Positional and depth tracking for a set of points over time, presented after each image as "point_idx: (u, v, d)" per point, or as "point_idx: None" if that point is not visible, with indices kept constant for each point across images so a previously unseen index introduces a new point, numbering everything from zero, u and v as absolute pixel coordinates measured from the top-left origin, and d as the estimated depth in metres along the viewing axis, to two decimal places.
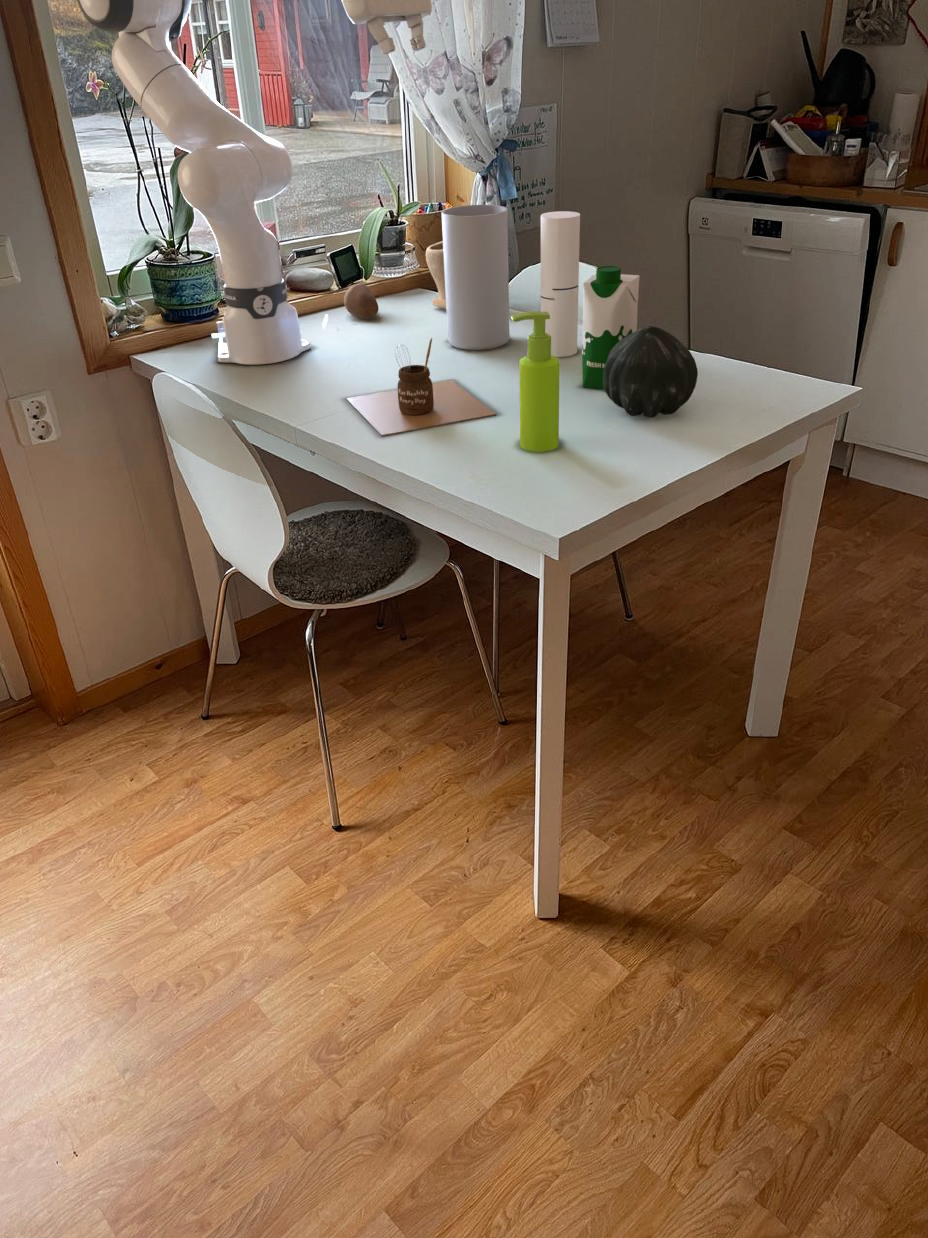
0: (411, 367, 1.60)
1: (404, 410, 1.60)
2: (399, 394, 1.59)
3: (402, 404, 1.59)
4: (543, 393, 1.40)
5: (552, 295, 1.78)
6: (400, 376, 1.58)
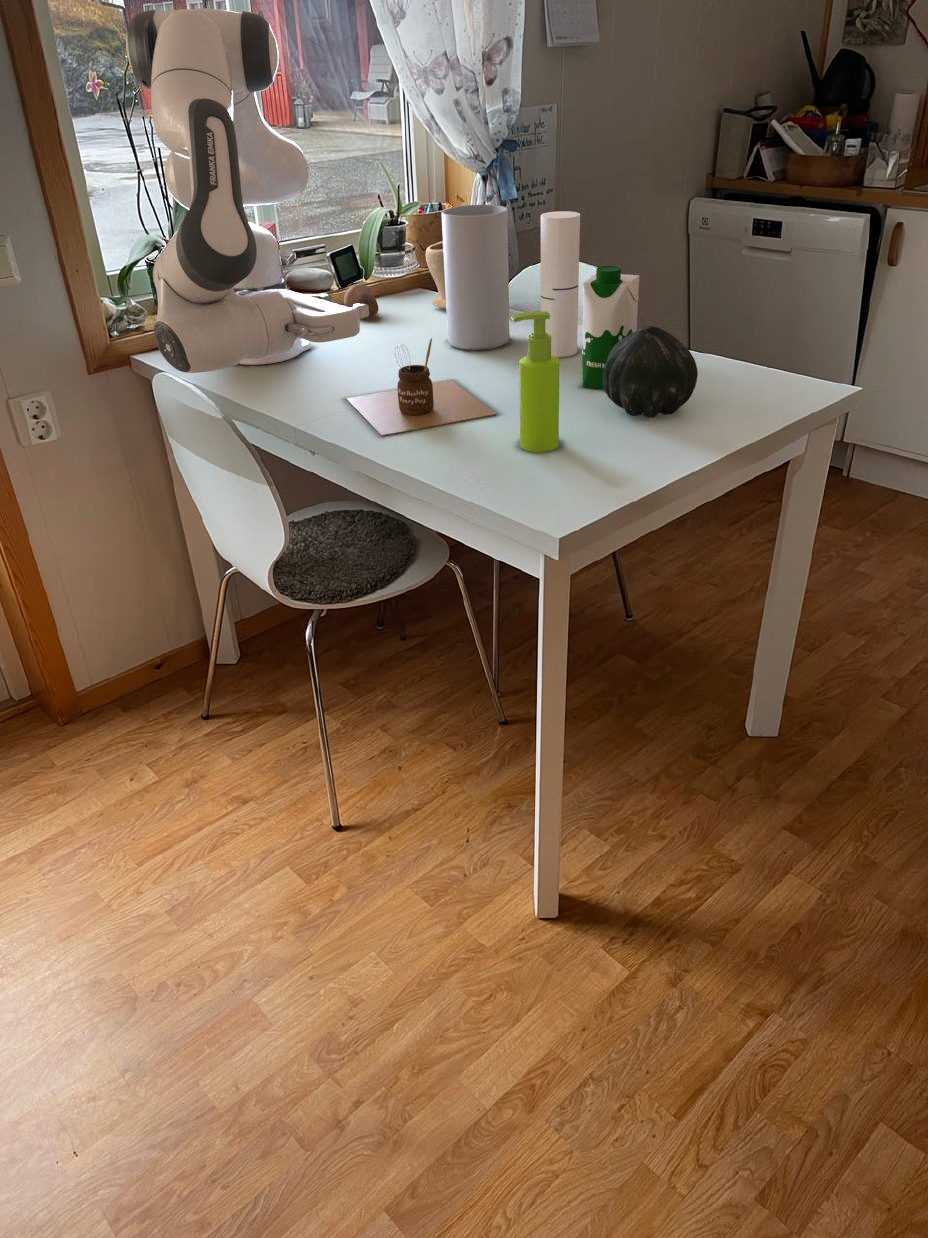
0: (411, 367, 1.60)
1: (404, 410, 1.60)
2: (399, 394, 1.59)
3: (402, 404, 1.59)
4: (543, 393, 1.40)
5: (552, 295, 1.78)
6: (400, 376, 1.58)
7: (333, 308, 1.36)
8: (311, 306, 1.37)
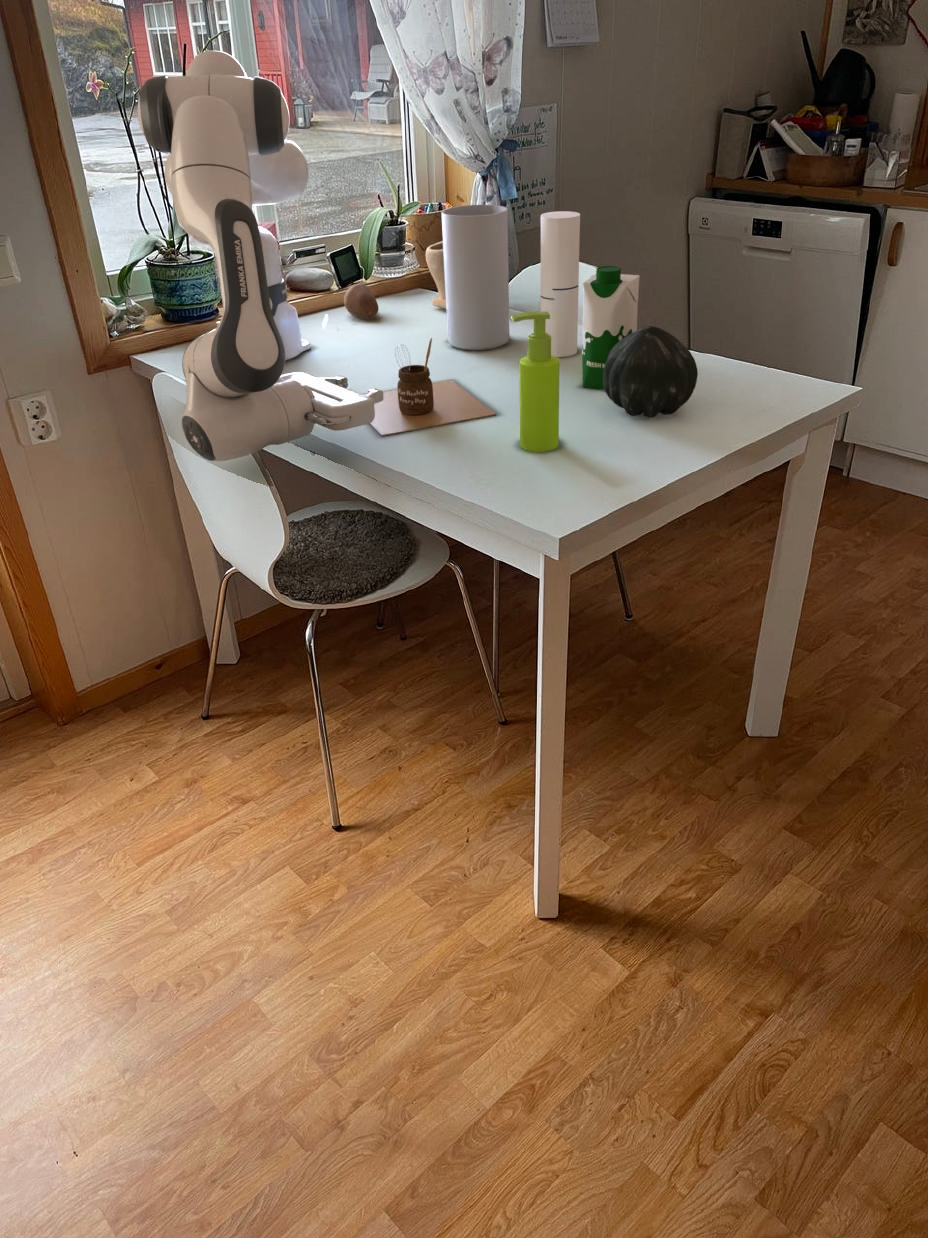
0: (411, 367, 1.60)
1: (404, 410, 1.60)
2: (399, 394, 1.59)
3: (402, 404, 1.59)
4: (543, 393, 1.40)
5: (552, 295, 1.78)
6: (400, 376, 1.58)
7: (350, 397, 1.44)
8: (329, 394, 1.45)
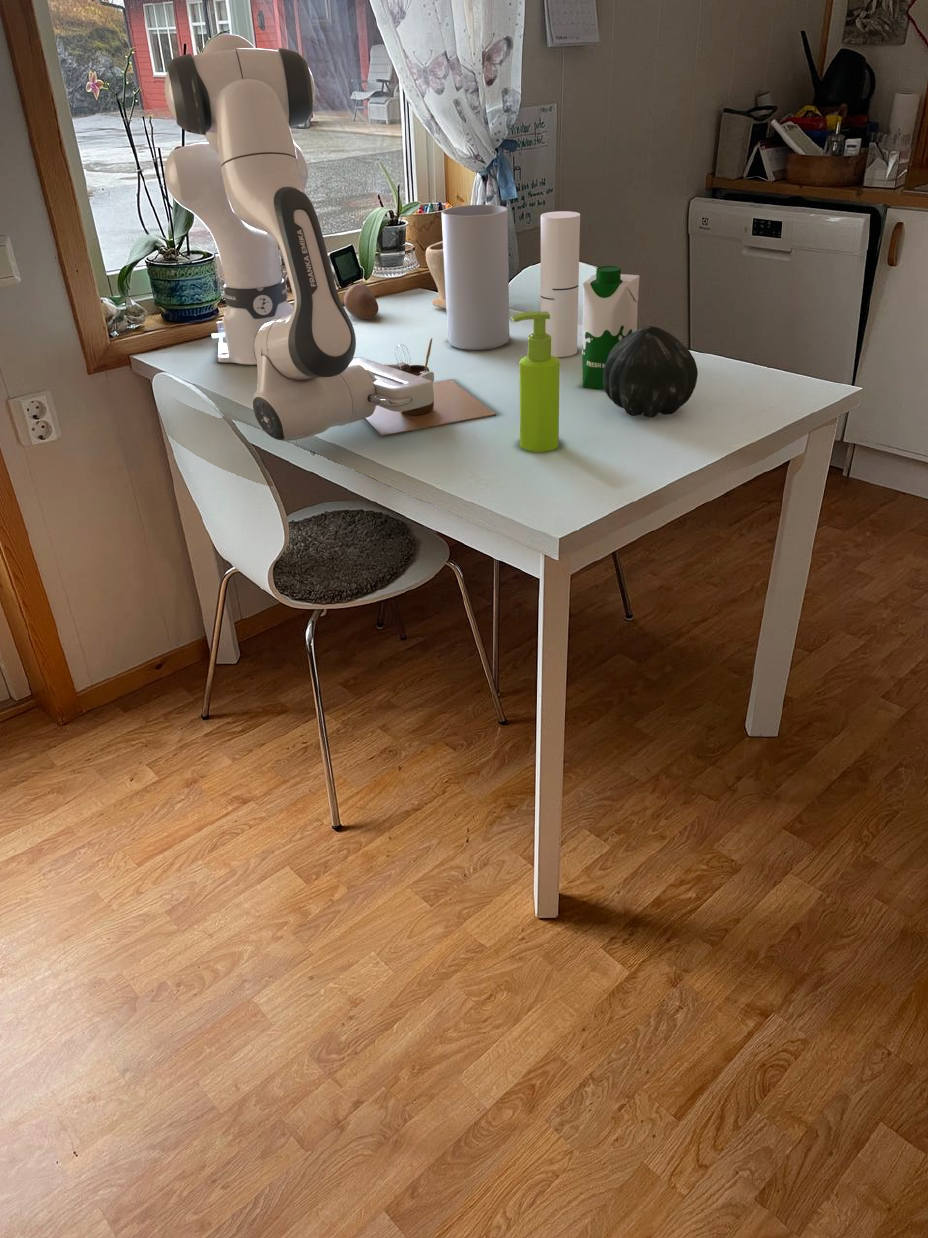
0: (411, 367, 1.60)
1: None
2: None
3: None
4: (543, 393, 1.40)
5: (552, 295, 1.78)
6: None
7: (410, 380, 1.50)
8: (389, 377, 1.52)
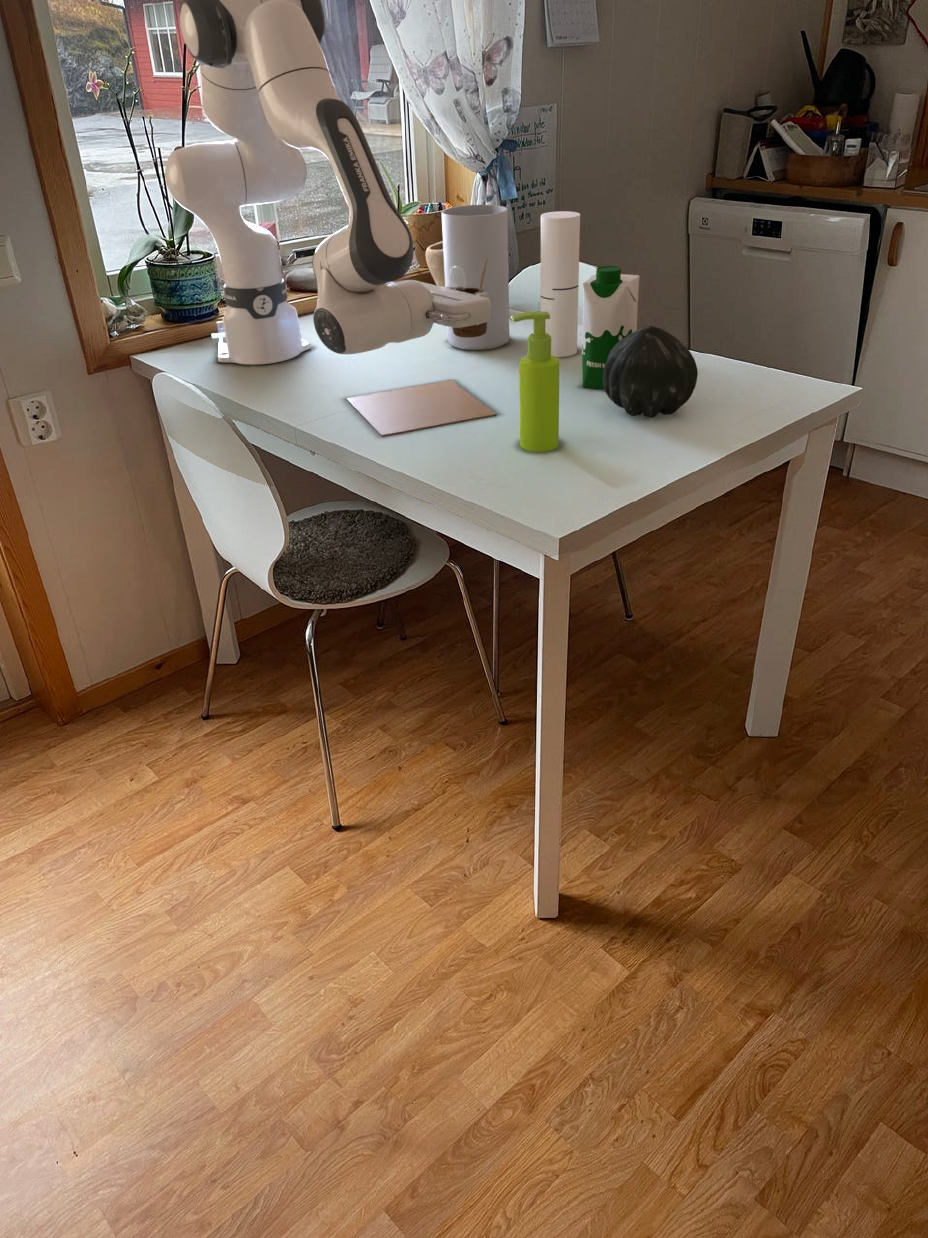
0: (465, 290, 1.62)
1: (458, 332, 1.61)
2: None
3: None
4: (543, 393, 1.40)
5: (552, 295, 1.78)
6: None
7: (467, 297, 1.52)
8: (446, 295, 1.53)
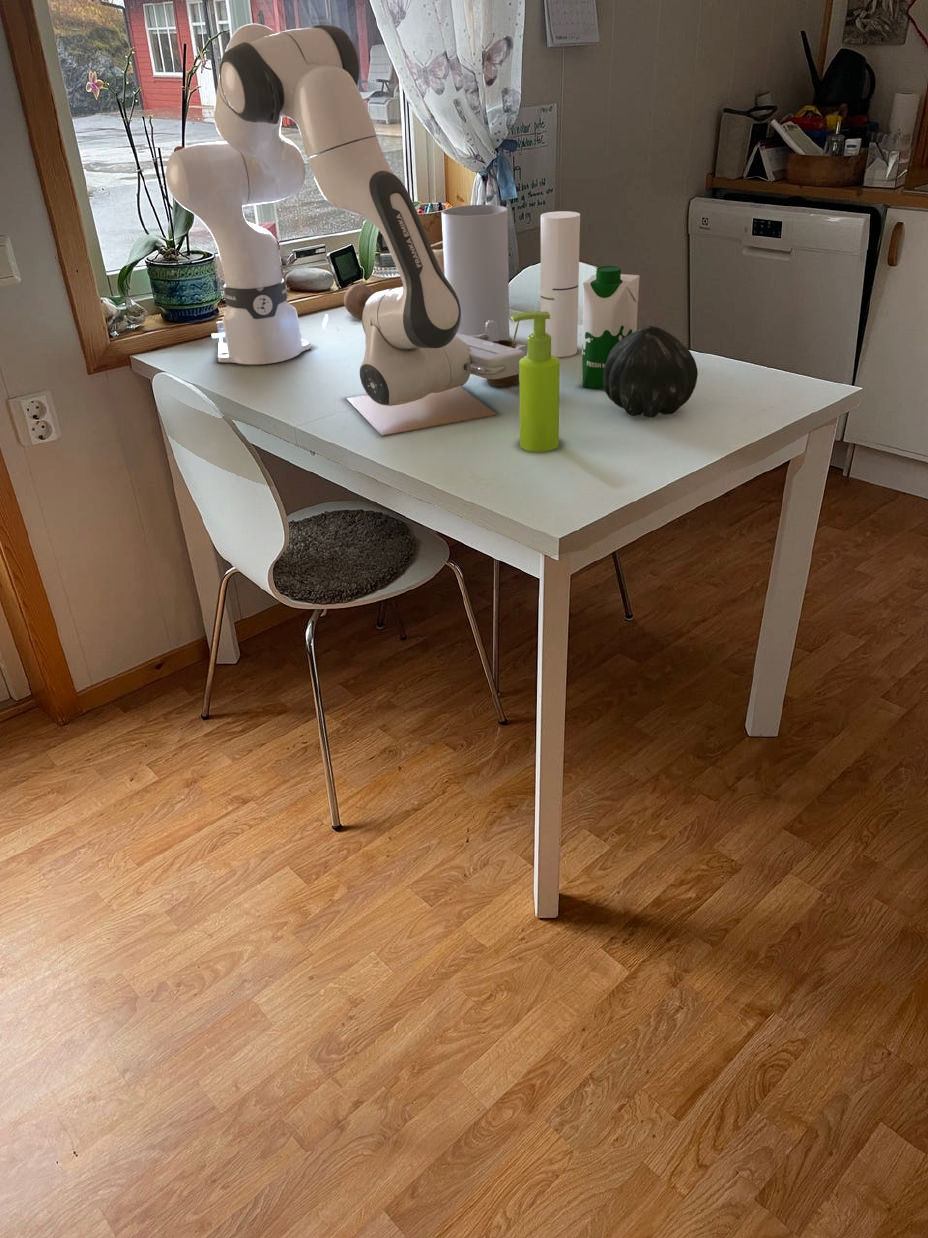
0: (498, 342, 1.71)
1: (492, 382, 1.71)
2: None
3: None
4: (543, 393, 1.40)
5: (552, 295, 1.78)
6: None
7: (502, 350, 1.61)
8: (482, 348, 1.63)
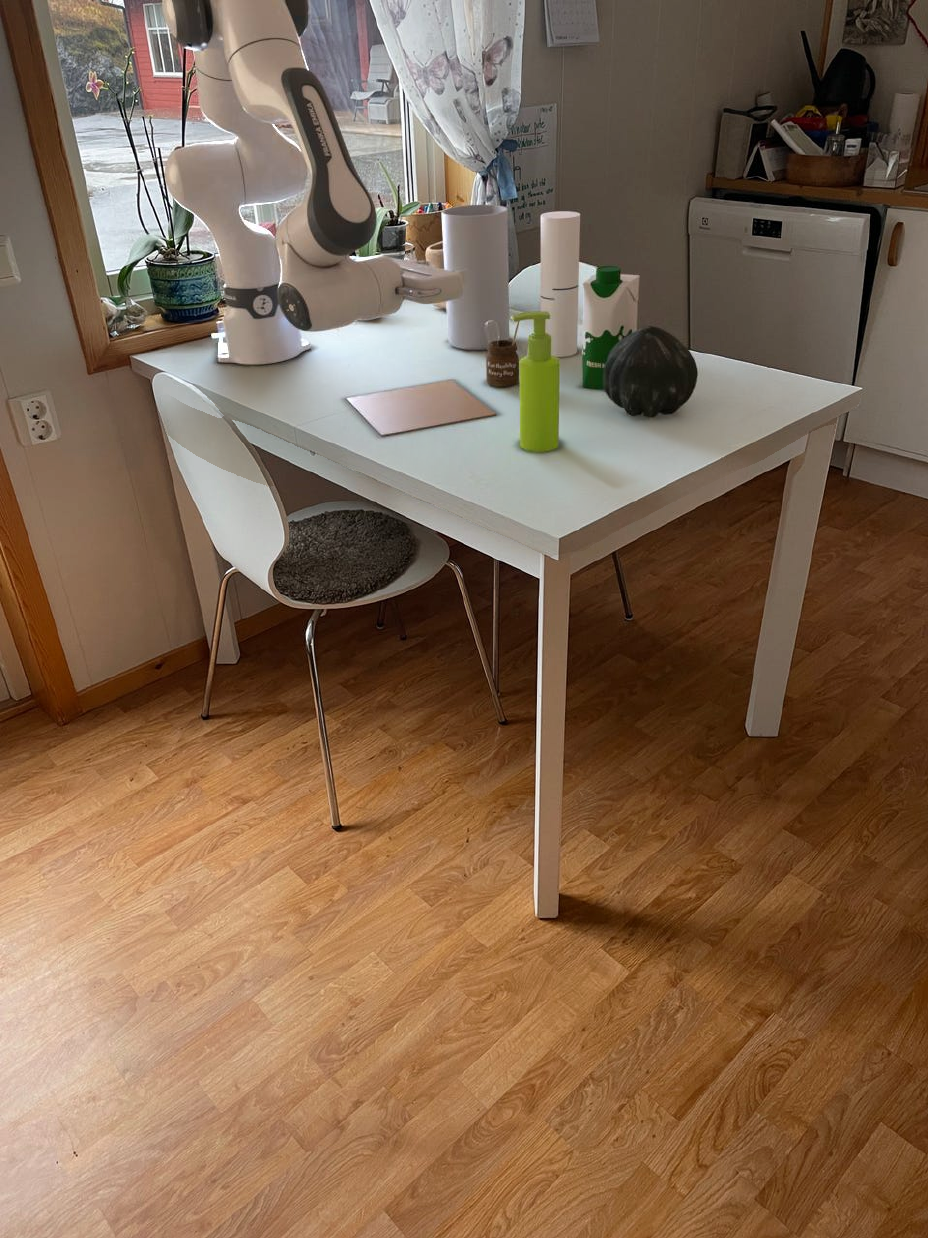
0: (499, 342, 1.71)
1: (492, 382, 1.71)
2: (488, 367, 1.70)
3: (490, 376, 1.70)
4: (543, 393, 1.40)
5: (552, 295, 1.78)
6: (490, 350, 1.68)
7: (439, 272, 1.46)
8: (417, 271, 1.48)
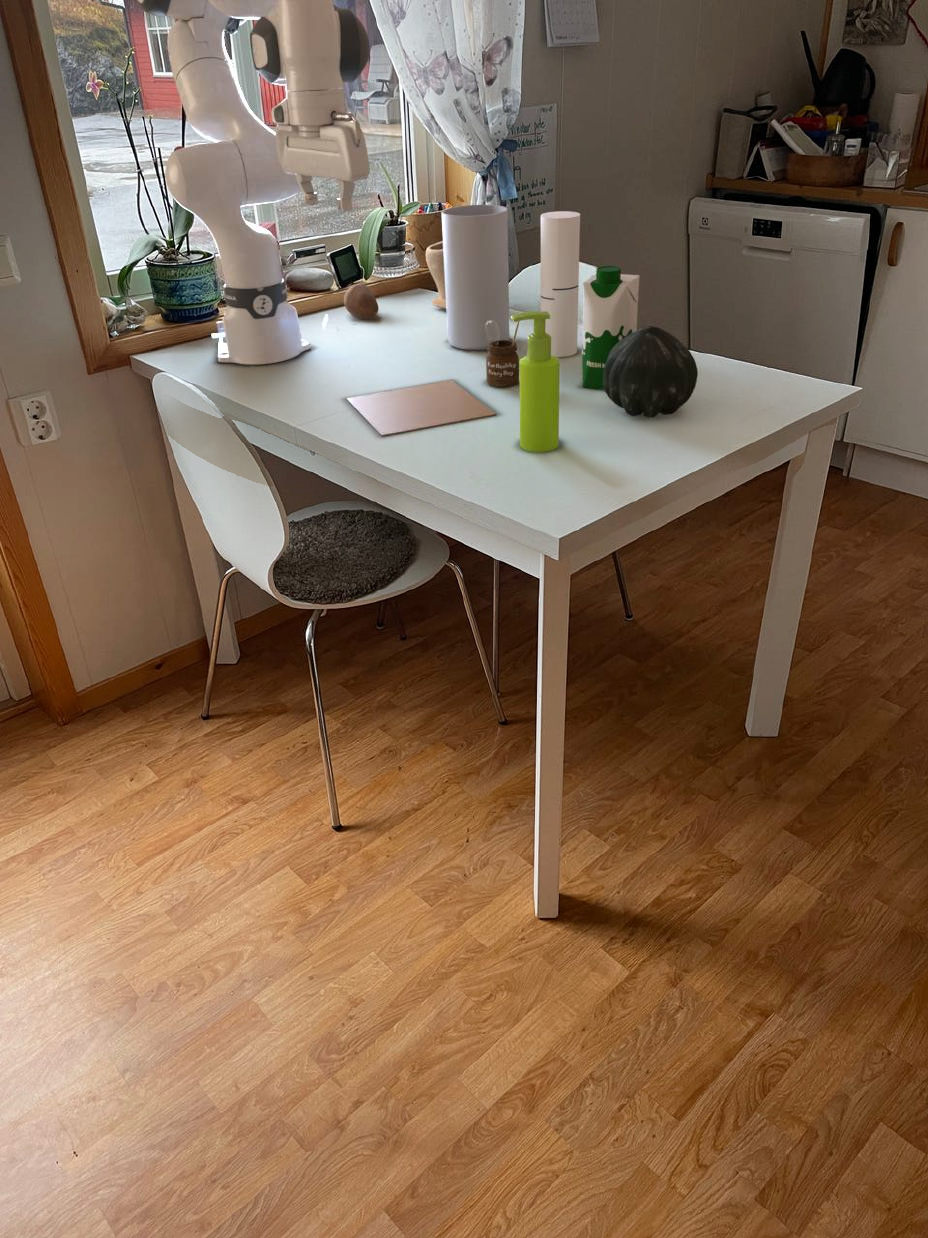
0: (499, 342, 1.71)
1: (492, 382, 1.71)
2: (488, 367, 1.70)
3: (490, 376, 1.70)
4: (543, 393, 1.40)
5: (552, 295, 1.78)
6: (490, 350, 1.68)
7: None
8: None
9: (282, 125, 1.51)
